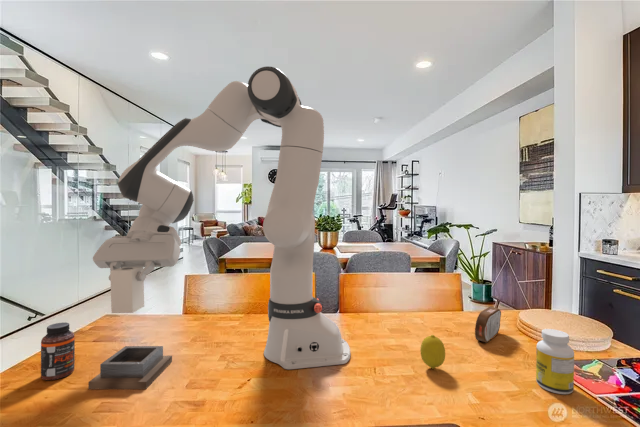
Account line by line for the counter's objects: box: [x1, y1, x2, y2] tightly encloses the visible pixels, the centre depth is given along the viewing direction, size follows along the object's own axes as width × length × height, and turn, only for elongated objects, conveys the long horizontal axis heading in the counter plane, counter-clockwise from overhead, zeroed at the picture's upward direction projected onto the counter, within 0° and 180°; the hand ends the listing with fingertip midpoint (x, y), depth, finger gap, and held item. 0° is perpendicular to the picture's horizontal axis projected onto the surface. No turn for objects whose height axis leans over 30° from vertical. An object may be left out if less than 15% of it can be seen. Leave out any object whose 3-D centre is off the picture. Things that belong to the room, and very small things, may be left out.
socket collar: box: [99, 345, 164, 378], centre depth 73 cm, size 9×9×3 cm
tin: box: [474, 305, 502, 343], centre depth 94 cm, size 15×3×8 cm, turn 135°
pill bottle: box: [535, 328, 575, 395], centre depth 68 cm, size 6×6×12 cm
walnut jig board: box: [87, 355, 173, 390], centre depth 73 cm, size 12×12×2 cm
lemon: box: [419, 334, 446, 370], centre depth 76 cm, size 6×6×8 cm
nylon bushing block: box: [109, 267, 145, 314], centre depth 78 cm, size 5×5×10 cm
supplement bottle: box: [40, 321, 76, 381], centre depth 73 cm, size 6×6×11 cm
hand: (126, 279), depth 78 cm, fingers closed on nylon bushing block, 5 cm apart
